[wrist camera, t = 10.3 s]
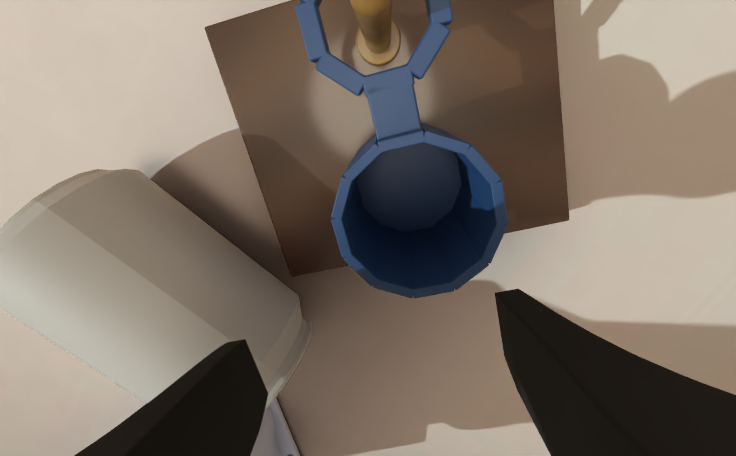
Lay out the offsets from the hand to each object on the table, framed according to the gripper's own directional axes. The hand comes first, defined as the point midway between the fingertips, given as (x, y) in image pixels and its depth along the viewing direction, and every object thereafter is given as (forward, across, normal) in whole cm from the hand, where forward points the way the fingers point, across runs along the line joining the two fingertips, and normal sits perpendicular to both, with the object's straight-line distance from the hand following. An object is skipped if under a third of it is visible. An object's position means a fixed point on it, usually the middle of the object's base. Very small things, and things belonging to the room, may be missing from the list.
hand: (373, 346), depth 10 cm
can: (+6, +13, -5) cm, 15 cm away
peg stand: (+9, -2, -5) cm, 11 cm away
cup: (+8, -2, -5) cm, 10 cm away
